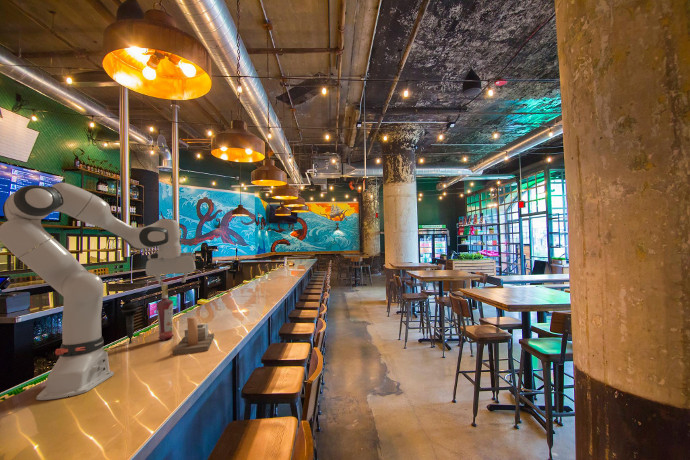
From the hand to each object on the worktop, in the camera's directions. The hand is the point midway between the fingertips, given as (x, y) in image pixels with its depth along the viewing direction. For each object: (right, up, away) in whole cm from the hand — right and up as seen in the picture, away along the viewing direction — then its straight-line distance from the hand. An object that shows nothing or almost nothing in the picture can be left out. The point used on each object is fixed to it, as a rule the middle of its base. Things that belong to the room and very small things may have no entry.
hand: (172, 283), depth 147 cm
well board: (+9, -30, +3) cm, 31 cm away
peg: (+10, -28, -2) cm, 29 cm away
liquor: (-12, -32, +17) cm, 38 cm away
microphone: (-28, -32, +12) cm, 44 cm away
